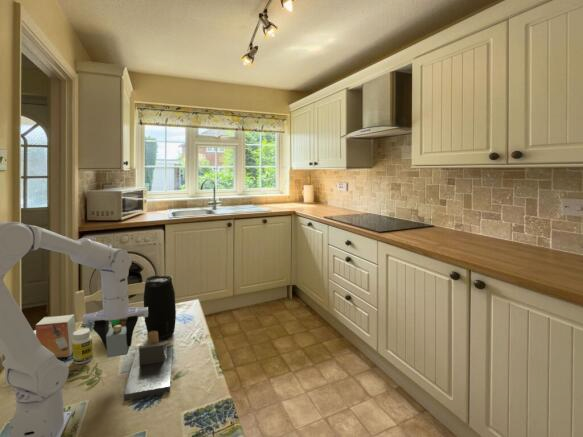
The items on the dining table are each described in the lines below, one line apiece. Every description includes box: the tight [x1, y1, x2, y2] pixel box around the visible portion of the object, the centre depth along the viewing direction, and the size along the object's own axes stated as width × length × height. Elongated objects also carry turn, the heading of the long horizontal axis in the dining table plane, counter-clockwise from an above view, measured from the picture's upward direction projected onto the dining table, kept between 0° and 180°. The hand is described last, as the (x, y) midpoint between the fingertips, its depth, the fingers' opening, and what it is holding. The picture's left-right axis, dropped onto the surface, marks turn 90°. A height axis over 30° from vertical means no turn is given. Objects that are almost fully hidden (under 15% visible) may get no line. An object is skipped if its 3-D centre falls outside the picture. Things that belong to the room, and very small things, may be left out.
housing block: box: [106, 325, 131, 358], centre depth 82 cm, size 4×4×7 cm
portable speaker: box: [143, 274, 177, 342], centre depth 103 cm, size 9×9×20 cm
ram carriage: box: [138, 331, 165, 365], centre depth 89 cm, size 7×6×6 cm
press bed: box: [123, 343, 174, 401], centre depth 85 cm, size 20×10×3 cm, turn 18°
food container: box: [110, 298, 129, 328], centre depth 108 cm, size 12×6×10 cm, turn 25°
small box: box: [35, 314, 77, 358], centre depth 94 cm, size 8×6×10 cm
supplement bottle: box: [72, 328, 94, 365], centre depth 90 cm, size 5×5×8 cm
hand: (118, 346), depth 82 cm, fingers closed on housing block, 4 cm apart
